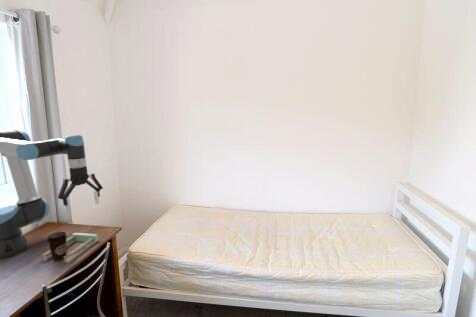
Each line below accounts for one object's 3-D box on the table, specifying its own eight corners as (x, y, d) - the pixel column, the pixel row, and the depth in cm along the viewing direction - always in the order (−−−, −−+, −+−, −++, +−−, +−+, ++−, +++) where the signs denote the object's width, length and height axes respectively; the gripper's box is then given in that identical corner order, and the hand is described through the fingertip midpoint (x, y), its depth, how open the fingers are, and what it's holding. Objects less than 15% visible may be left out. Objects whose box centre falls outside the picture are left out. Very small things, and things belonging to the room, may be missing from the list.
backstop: (72, 240, 155) (71, 234, 155) (75, 239, 157) (74, 232, 157) (95, 242, 153) (94, 235, 152) (97, 240, 155) (97, 234, 154)
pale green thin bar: (42, 260, 136) (41, 255, 135) (72, 240, 155) (72, 236, 155) (46, 260, 136) (45, 255, 135) (75, 241, 155) (75, 236, 154)
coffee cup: (74, 254, 141) (70, 230, 139) (62, 263, 133) (58, 238, 131) (58, 253, 142) (54, 230, 140) (46, 262, 134) (41, 238, 132)
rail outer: (64, 262, 134) (63, 256, 133) (92, 242, 153) (91, 237, 153) (68, 262, 134) (67, 257, 133) (95, 242, 153) (94, 237, 152)
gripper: (51, 172, 122) (58, 216, 127) (106, 163, 141) (111, 201, 146) (45, 170, 127) (52, 212, 131) (100, 161, 146) (104, 198, 150)
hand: (83, 207), depth 139 cm, fingers open, 13 cm apart
